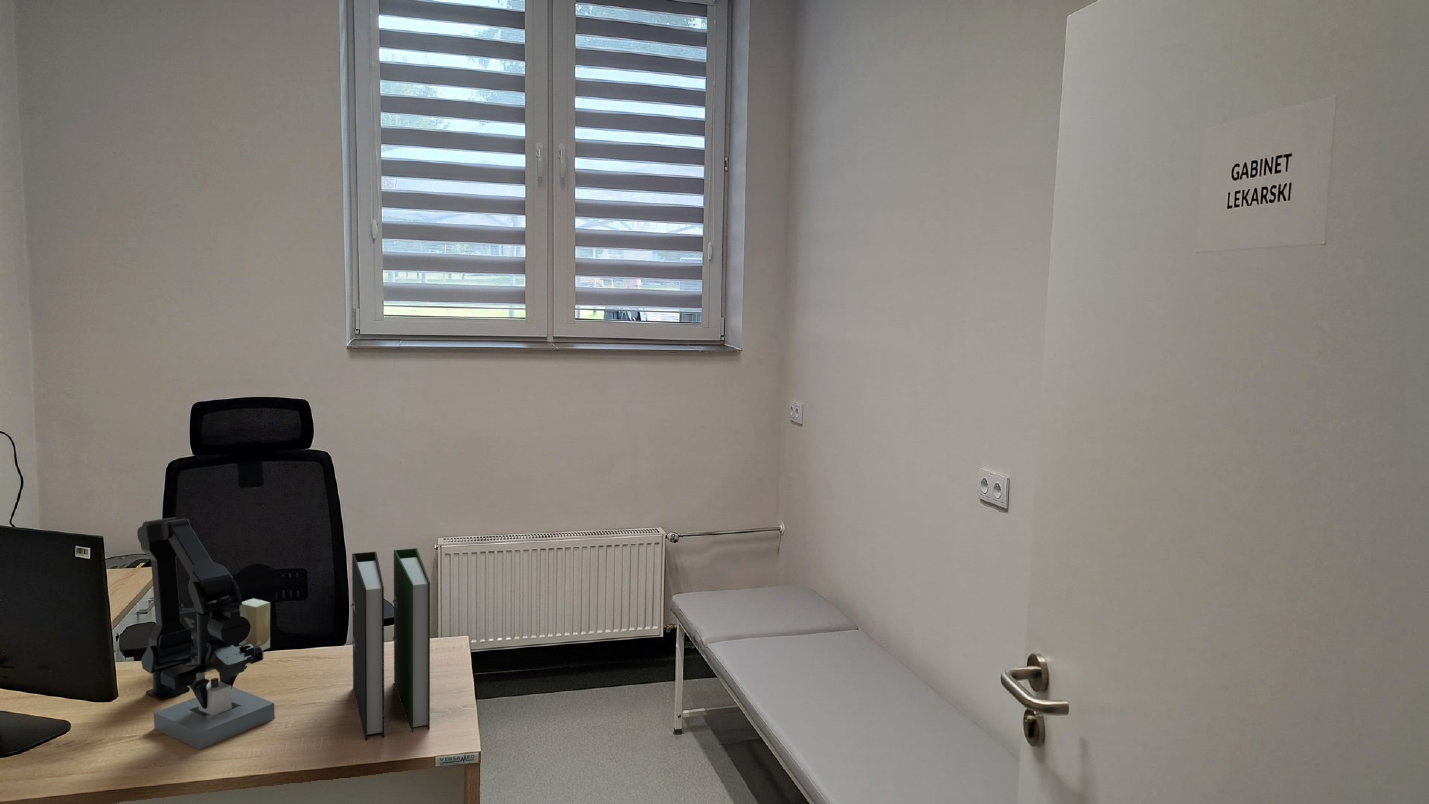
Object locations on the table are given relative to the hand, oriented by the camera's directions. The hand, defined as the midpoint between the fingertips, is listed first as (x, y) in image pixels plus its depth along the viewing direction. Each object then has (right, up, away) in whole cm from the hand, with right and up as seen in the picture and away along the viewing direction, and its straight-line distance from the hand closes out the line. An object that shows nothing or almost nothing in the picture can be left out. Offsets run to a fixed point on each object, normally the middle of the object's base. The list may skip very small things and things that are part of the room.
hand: (214, 704), depth 184 cm
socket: (0, -4, 0) cm, 4 cm away
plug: (0, -1, 0) cm, 1 cm away
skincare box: (-13, 0, +41) cm, 43 cm away
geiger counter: (-20, -1, +31) cm, 37 cm away
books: (+33, -5, +10) cm, 35 cm away
